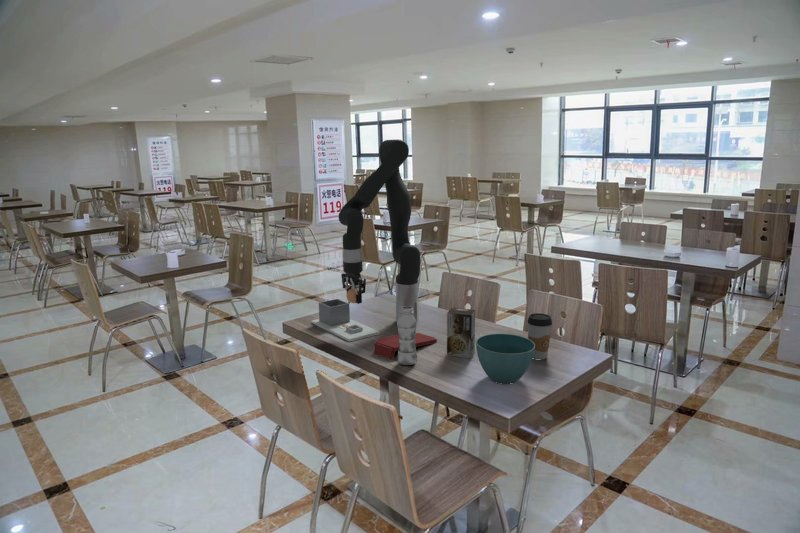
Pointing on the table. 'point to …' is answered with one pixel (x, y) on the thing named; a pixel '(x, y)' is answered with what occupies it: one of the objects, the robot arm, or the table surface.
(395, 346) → the carton
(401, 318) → the plastic bottle
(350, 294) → the ball
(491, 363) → the teal bowl
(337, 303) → the ball rack
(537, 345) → the coffee cup
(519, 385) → the table surface
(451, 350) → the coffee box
